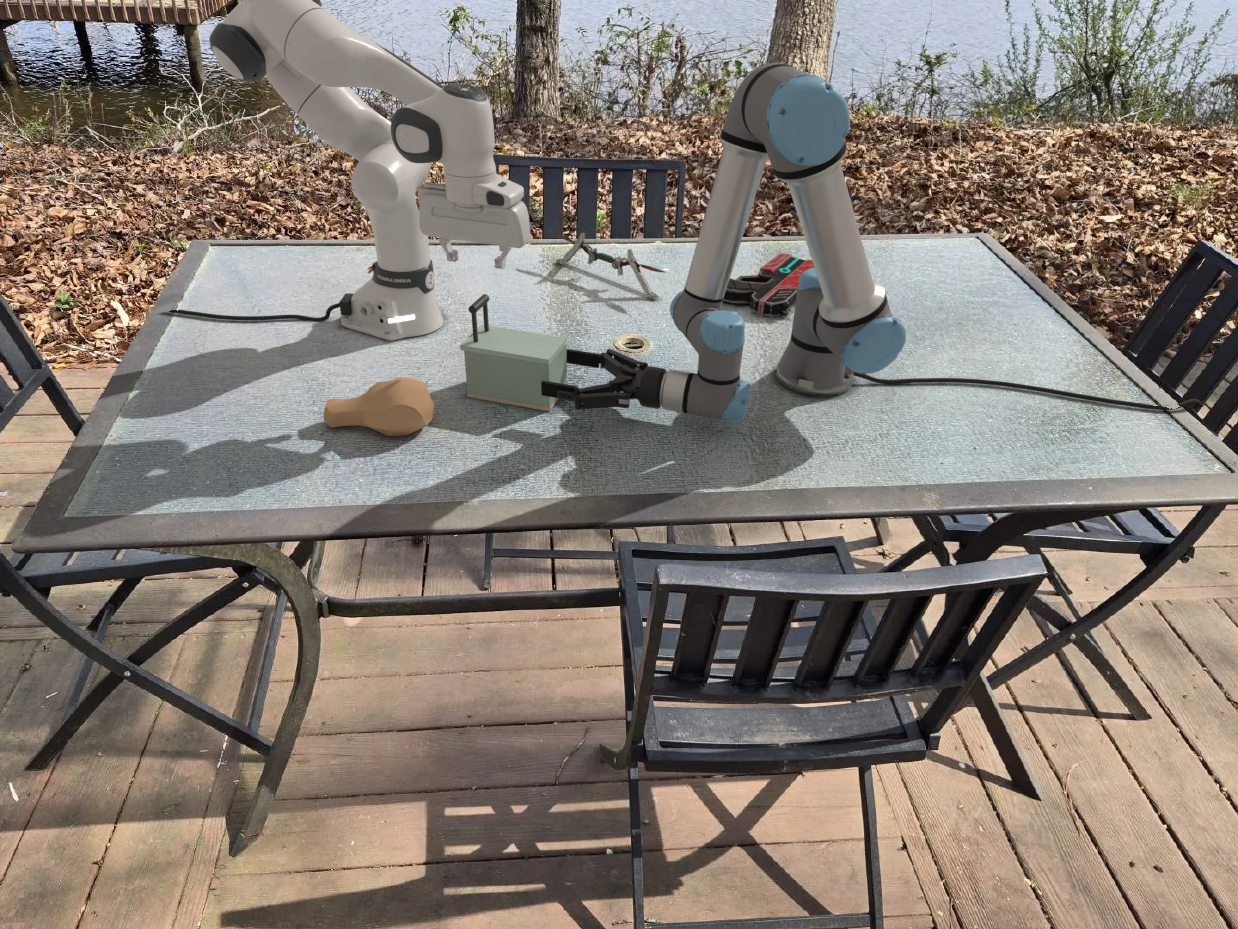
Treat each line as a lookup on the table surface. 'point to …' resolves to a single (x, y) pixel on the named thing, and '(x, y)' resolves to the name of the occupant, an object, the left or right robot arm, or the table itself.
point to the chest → (513, 379)
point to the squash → (385, 408)
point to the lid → (509, 340)
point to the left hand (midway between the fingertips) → (476, 264)
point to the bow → (616, 262)
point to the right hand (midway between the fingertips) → (554, 371)
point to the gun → (769, 286)
